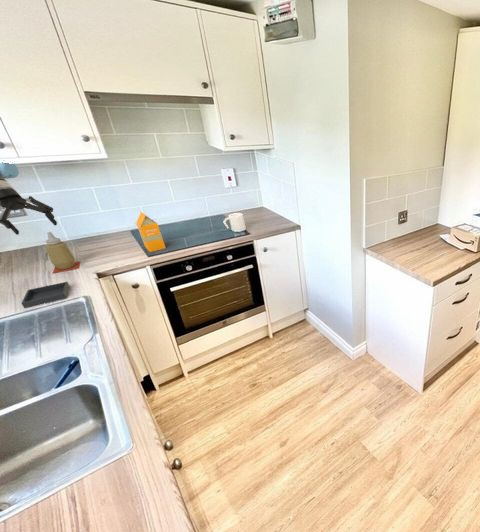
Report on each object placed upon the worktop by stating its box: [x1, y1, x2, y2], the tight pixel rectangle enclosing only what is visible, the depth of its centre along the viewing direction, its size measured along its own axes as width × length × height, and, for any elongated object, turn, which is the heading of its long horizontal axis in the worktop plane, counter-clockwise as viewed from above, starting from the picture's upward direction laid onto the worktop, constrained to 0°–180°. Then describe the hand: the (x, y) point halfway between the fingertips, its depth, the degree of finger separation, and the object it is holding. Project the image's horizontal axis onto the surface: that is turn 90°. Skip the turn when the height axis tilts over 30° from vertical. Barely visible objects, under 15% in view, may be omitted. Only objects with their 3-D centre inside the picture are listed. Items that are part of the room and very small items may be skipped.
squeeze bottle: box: [45, 231, 76, 269], centre depth 152 cm, size 8×8×18 cm
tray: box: [21, 281, 71, 309], centre depth 134 cm, size 12×12×2 cm
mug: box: [222, 212, 247, 233], centre depth 204 cm, size 12×9×10 cm
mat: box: [52, 261, 81, 274], centre depth 157 cm, size 9×9×1 cm
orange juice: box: [135, 211, 166, 253], centre depth 175 cm, size 8×9×20 cm
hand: (37, 228), depth 151 cm, fingers open, 13 cm apart
